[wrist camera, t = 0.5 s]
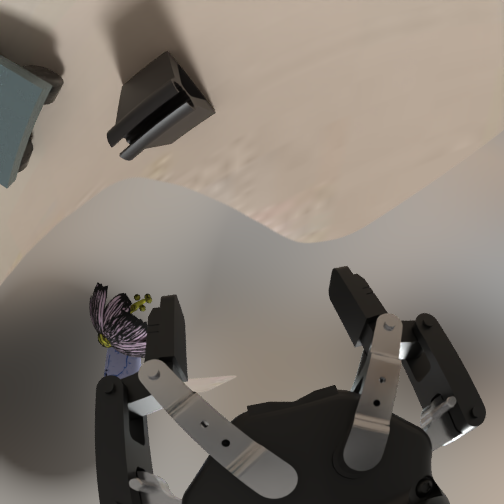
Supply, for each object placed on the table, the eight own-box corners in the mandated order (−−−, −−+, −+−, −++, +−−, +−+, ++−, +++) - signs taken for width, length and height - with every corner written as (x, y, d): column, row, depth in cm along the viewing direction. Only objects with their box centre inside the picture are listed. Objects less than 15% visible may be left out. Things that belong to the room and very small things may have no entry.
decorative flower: (59, 312, 29) (154, 363, 32) (97, 248, 37) (183, 291, 39) (78, 338, 40) (149, 374, 43) (104, 288, 48) (171, 321, 50)
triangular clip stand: (123, 85, 22) (76, 108, 13) (168, 50, 21) (142, 47, 12) (171, 143, 28) (154, 194, 19) (215, 112, 26) (221, 147, 18)
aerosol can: (108, 327, 48) (97, 420, 34) (144, 335, 51) (141, 428, 37) (108, 345, 53) (100, 428, 38) (141, 351, 56) (139, 434, 41)
